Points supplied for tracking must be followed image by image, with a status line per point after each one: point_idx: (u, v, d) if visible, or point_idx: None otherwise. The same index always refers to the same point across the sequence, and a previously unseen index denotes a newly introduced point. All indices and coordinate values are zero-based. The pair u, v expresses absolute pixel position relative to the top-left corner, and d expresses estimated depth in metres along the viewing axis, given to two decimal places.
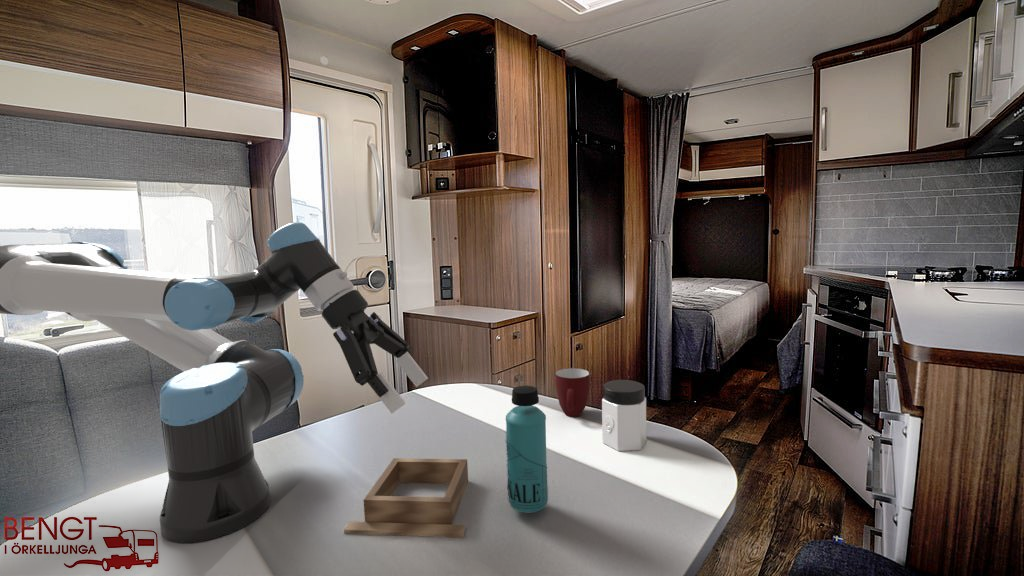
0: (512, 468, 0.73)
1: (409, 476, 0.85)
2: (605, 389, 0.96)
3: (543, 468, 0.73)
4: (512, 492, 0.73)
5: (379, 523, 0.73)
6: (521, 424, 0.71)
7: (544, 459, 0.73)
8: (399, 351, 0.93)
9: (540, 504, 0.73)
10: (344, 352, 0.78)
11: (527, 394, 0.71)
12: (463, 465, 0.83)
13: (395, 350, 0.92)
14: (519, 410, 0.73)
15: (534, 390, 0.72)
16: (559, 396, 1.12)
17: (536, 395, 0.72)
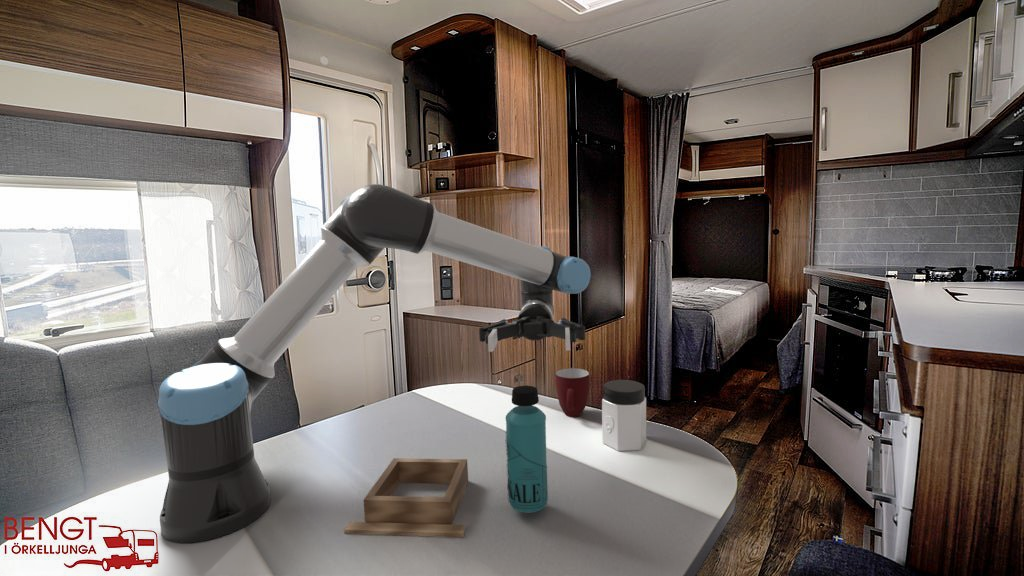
0: (512, 468, 0.73)
1: (409, 476, 0.85)
2: (605, 389, 0.96)
3: (543, 468, 0.73)
4: (512, 492, 0.73)
5: (379, 523, 0.73)
6: (521, 424, 0.71)
7: (544, 459, 0.73)
8: None
9: (540, 504, 0.73)
10: None
11: (527, 394, 0.71)
12: (463, 465, 0.83)
13: (499, 333, 0.93)
14: (519, 410, 0.73)
15: (534, 390, 0.72)
16: (559, 396, 1.12)
17: (536, 395, 0.72)
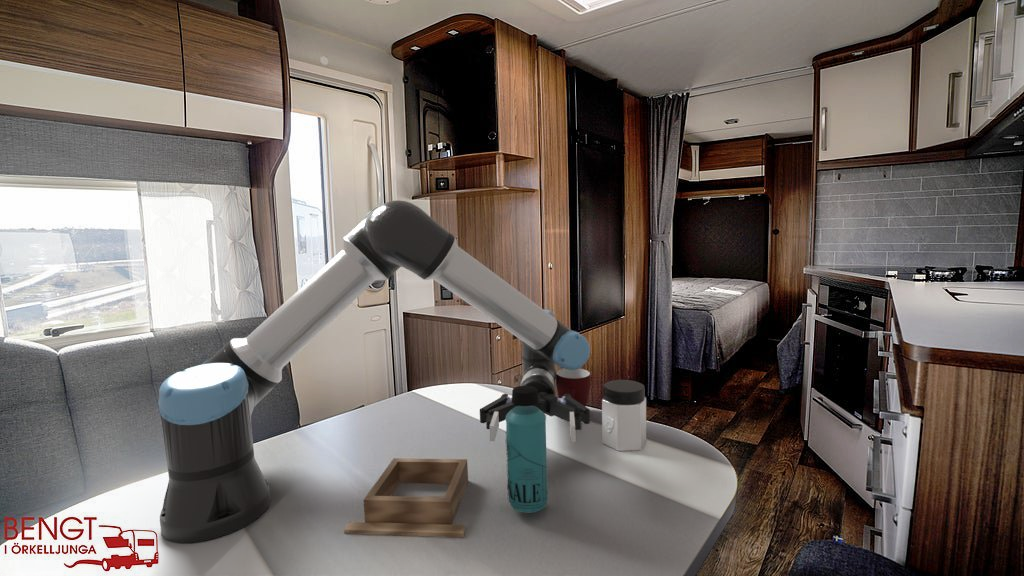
0: (512, 468, 0.73)
1: (409, 476, 0.85)
2: (605, 389, 0.96)
3: (543, 468, 0.73)
4: (512, 492, 0.73)
5: (379, 523, 0.73)
6: (521, 424, 0.71)
7: (544, 459, 0.73)
8: None
9: (540, 504, 0.73)
10: None
11: (527, 394, 0.71)
12: (463, 465, 0.83)
13: (500, 415, 0.89)
14: (519, 410, 0.73)
15: (534, 390, 0.72)
16: (559, 396, 1.12)
17: (536, 395, 0.72)
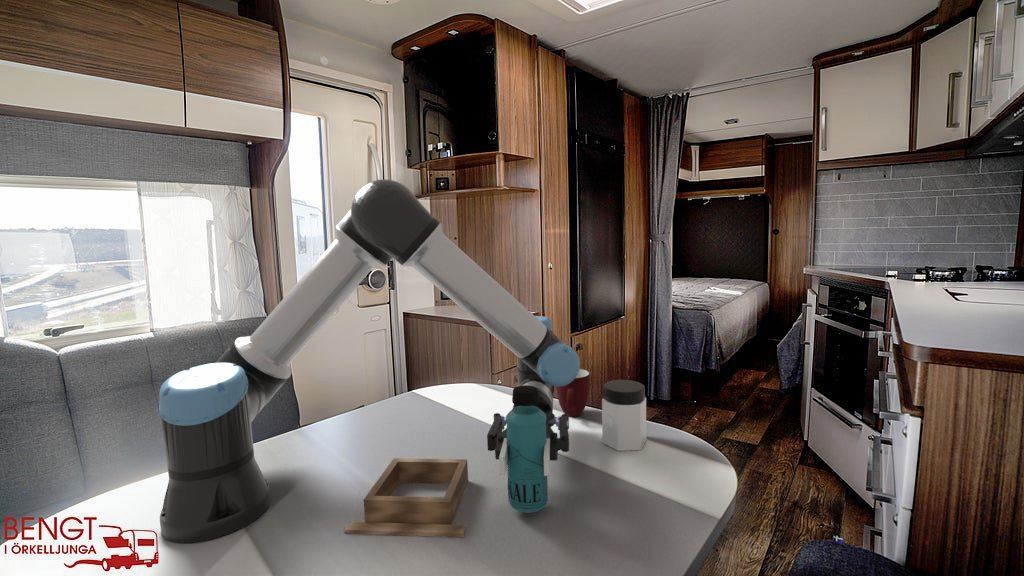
0: (512, 468, 0.73)
1: (409, 476, 0.85)
2: (605, 389, 0.96)
3: (543, 468, 0.73)
4: (512, 492, 0.73)
5: (379, 523, 0.73)
6: (521, 424, 0.71)
7: None
8: None
9: (540, 504, 0.73)
10: (566, 424, 0.81)
11: (528, 394, 0.71)
12: (463, 465, 0.83)
13: None
14: (519, 410, 0.73)
15: (535, 390, 0.72)
16: (559, 396, 1.12)
17: (537, 395, 0.72)
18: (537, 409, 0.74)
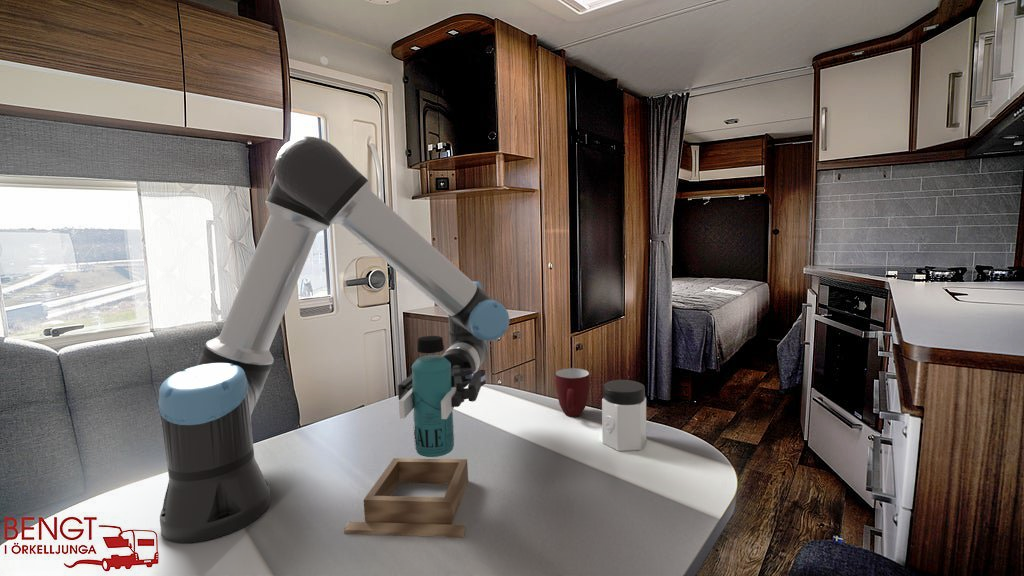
0: (416, 414, 0.75)
1: (409, 476, 0.85)
2: (605, 389, 0.96)
3: None
4: (417, 437, 0.76)
5: (379, 523, 0.73)
6: (423, 370, 0.73)
7: None
8: None
9: (443, 449, 0.75)
10: (479, 377, 0.84)
11: (430, 342, 0.74)
12: (463, 465, 0.83)
13: None
14: (424, 358, 0.76)
15: (438, 339, 0.75)
16: (559, 396, 1.12)
17: (440, 343, 0.75)
18: (442, 358, 0.76)
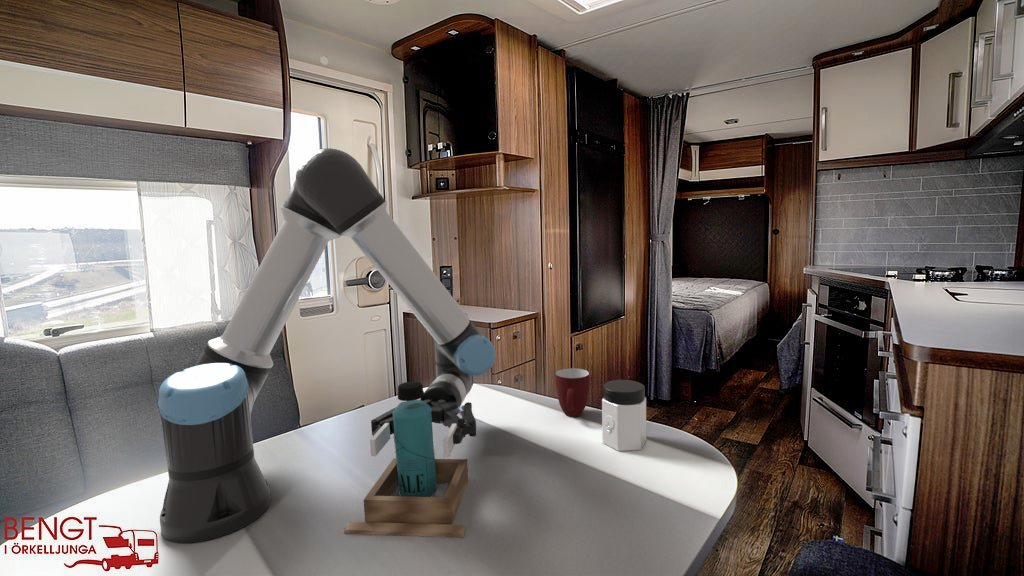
0: (398, 460, 0.77)
1: None
2: (605, 389, 0.96)
3: (427, 460, 0.76)
4: (399, 482, 0.77)
5: (379, 523, 0.73)
6: (403, 418, 0.75)
7: (428, 451, 0.77)
8: None
9: (425, 494, 0.77)
10: None
11: (409, 389, 0.75)
12: (463, 465, 0.83)
13: (393, 426, 0.83)
14: (405, 405, 0.77)
15: (417, 386, 0.76)
16: (559, 396, 1.12)
17: (419, 390, 0.76)
18: (422, 404, 0.77)
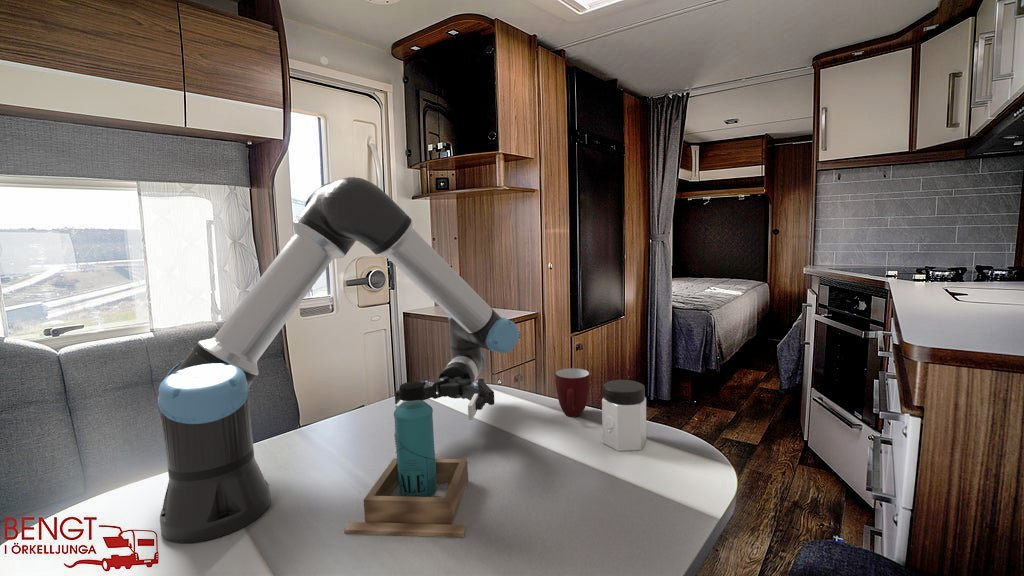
0: (399, 459, 0.77)
1: None
2: (605, 389, 0.96)
3: (428, 460, 0.76)
4: (400, 482, 0.77)
5: (379, 523, 0.73)
6: (404, 418, 0.75)
7: (429, 451, 0.77)
8: None
9: (425, 494, 0.77)
10: (486, 385, 1.00)
11: (411, 389, 0.75)
12: (463, 465, 0.83)
13: None
14: (406, 405, 0.77)
15: (419, 386, 0.76)
16: (559, 396, 1.12)
17: (421, 390, 0.76)
18: (423, 404, 0.78)
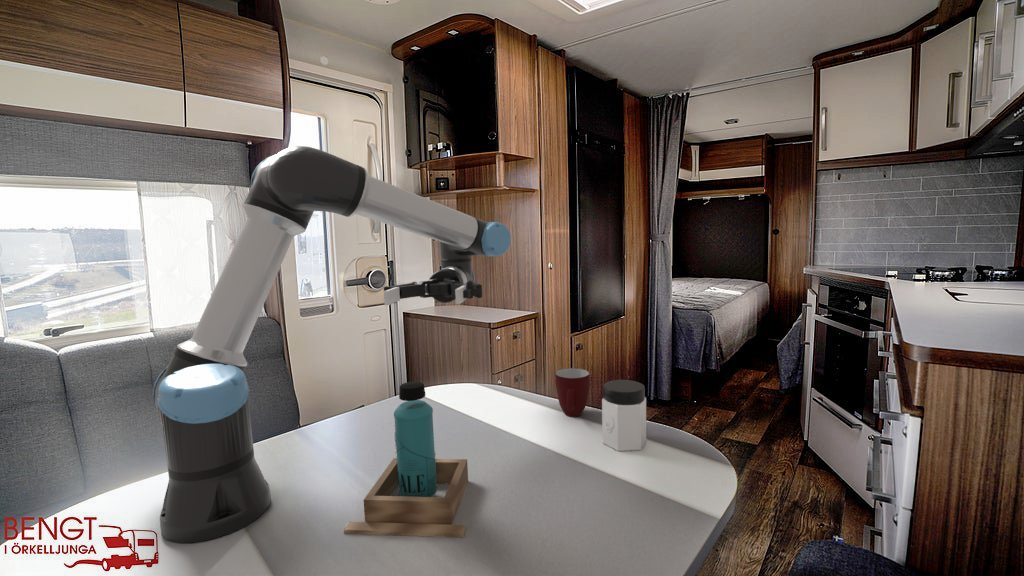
0: (399, 459, 0.77)
1: None
2: (605, 389, 0.96)
3: (428, 460, 0.77)
4: (400, 482, 0.77)
5: (379, 523, 0.73)
6: (404, 418, 0.75)
7: (429, 451, 0.77)
8: None
9: (425, 494, 0.77)
10: (474, 283, 1.01)
11: (411, 389, 0.75)
12: (463, 465, 0.83)
13: (403, 292, 0.98)
14: (406, 405, 0.77)
15: (419, 386, 0.76)
16: (559, 396, 1.12)
17: (421, 390, 0.76)
18: (423, 404, 0.78)
